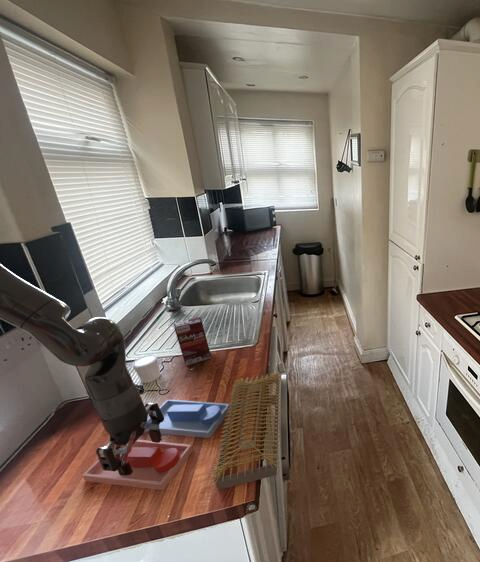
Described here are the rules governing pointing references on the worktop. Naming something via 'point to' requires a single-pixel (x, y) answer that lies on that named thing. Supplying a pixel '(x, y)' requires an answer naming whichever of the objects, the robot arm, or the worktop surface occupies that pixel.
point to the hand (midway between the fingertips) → (143, 456)
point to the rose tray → (140, 469)
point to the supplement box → (192, 340)
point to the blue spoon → (194, 413)
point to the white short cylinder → (147, 368)
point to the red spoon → (153, 458)
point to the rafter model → (243, 406)
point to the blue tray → (189, 426)
